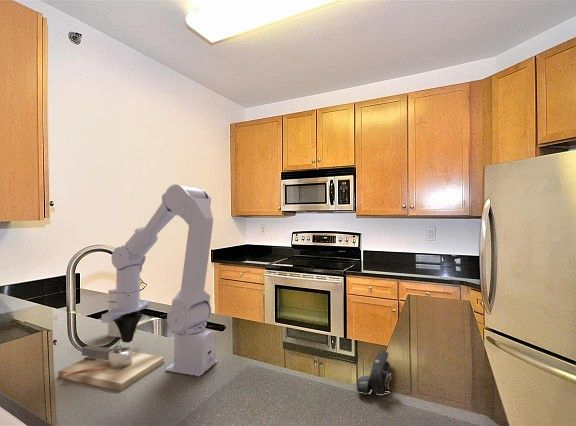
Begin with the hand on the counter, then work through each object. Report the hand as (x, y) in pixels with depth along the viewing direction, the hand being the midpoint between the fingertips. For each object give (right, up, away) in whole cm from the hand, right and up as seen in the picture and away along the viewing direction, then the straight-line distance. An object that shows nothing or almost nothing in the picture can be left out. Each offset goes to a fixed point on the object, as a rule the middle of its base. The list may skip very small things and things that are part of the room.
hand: (127, 341), depth 82 cm
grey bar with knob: (0, -1, -9) cm, 9 cm away
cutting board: (+2, -3, -10) cm, 11 cm away
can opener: (+64, -3, -15) cm, 66 cm away
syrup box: (-8, -3, +13) cm, 16 cm away
